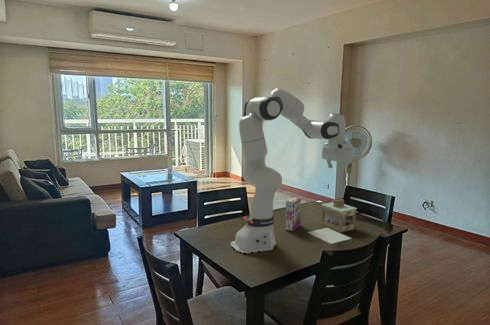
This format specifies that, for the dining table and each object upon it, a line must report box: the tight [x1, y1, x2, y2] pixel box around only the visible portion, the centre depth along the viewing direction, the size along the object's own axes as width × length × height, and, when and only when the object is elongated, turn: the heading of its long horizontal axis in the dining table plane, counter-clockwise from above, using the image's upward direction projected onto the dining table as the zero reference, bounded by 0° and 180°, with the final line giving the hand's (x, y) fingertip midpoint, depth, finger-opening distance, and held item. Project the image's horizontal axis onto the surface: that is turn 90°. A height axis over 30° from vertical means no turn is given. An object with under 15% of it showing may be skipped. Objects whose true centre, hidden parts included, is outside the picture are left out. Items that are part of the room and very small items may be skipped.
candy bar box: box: [284, 196, 302, 232], centre depth 186 cm, size 11×5×16 cm, turn 149°
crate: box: [320, 206, 357, 234], centre depth 188 cm, size 11×15×11 cm
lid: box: [320, 198, 358, 213], centre depth 186 cm, size 12×16×6 cm
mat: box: [307, 227, 352, 245], centre depth 175 cm, size 14×18×1 cm
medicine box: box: [330, 214, 347, 226], centre depth 188 cm, size 8×4×9 cm, turn 84°
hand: (336, 169), depth 182 cm, fingers open, 8 cm apart
